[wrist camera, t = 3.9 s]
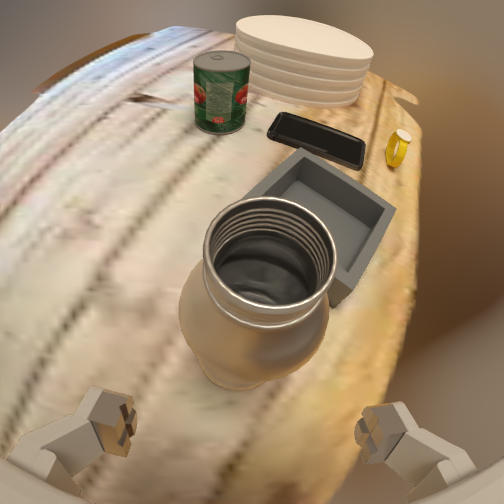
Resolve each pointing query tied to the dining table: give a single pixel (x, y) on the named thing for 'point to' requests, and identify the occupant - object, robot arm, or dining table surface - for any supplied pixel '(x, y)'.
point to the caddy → (333, 212)
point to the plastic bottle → (259, 292)
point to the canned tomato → (220, 91)
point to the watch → (403, 142)
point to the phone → (318, 140)
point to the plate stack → (302, 60)
